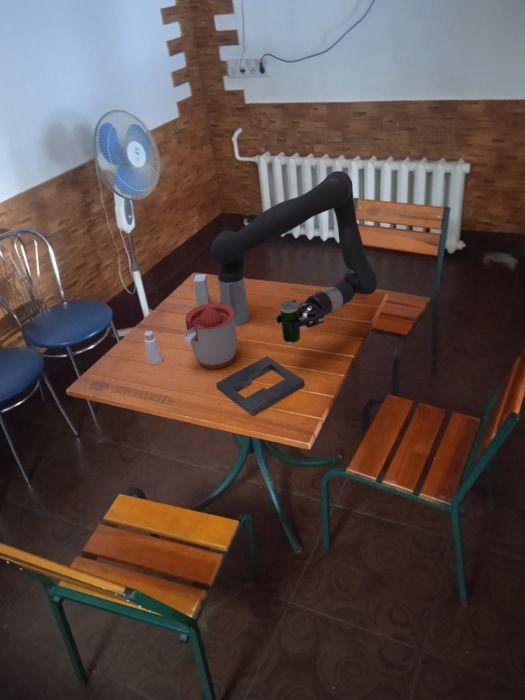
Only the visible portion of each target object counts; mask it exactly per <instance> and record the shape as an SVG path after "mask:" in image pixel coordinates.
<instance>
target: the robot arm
mask: <svg viewBox="0 0 525 700" xmlns="http://www.w3.org/2000/svg"><path fill="white" fill-rule="evenodd" d="M353 187H354V186H353V181H352V179H351V177H350V176H349V175H348V173H346V172H344V171H341V170H336V171H333V172H332V171H331V173H329V174H328V175H327V176H326V177H325V178H324V179H323V180H322V181H321V182H320V183H319V184H317V185H316V186H314V187H313V188H312V189H310V190H309V191H306V192H305V193H304V194H302V195H299V196H296V197H293V198H289V199H287V200H283V201H281V202H279V203H277V204H275V205H273V206H271V207H269V208H267V209H266V210H264V211H263V212H261V213H260V214H258V215H257V216H256V217H254V219H252V220H251V221H250V222H249V223H248V224H246V225H245V226H244V227H242V228H241V229H240V230H238V231H237V232H236V231H234V230H230V229H227V230H223V231H221V232H220V233H219V234H218V235H217V236H216V238H215V239H214V241H213V242H212V243H211V247H210V256H211V258H212V259H213V261H214V262H216V263H217V264H218V268H217V275H216V276H217V281H218V286H219V287H218V288H219V292H220V293H219V294H220V295H219V301H220V304H225V305H228V306H230V307H231V308H232V309H233V310H234V313H235V314H234V319H235V326H241V325H244V324H246V323H248V321H249V320H250V312H249V304H248V295H247V294H248V293H247V287H246V279H245V254H247V253H248V252H249V251H251V250H253V249H255V248H257V247H259V246H261V245H264V244H267V243H268V242H270V241H272V240H274V239H276V238H278V237H281V236H283V235H285V234H287V233H288V232H290V231H293V230H294V229H295V228H297V227H299V226H301V225H302V224H304V223H306V222H307V221H308V220H310V219H311V218H313V217H315V216H317V215H321V214H323V213H324V212H328V211H330V210H333V211H334V215H335V219H336V224H337V225H336V226H337V232H338V233H337V234H338V241H339V246H340V252H341V255H342V259H343V263H344V265H345V267H346V268H347V269H349V270H351V271H352V272H351V273H349V274H347V275H346V276H344V277H343V278H342V279H341V280H340V281H339V282H338V283H335V284H333V285H331V286H329V287H327V288H323V289H322V290H319V291H318V292H315V293H314V294H312V295H310V296H309V297H308V298H307V299H306V300H305V301H304V302H300V303H297V300H296V299H293V300H292V301H294V302H296V303H297V305H298V308H299V317H301V318H299V319H297V320H296V321H294V322H292V323H290V324H289V327H290V330H294V329H297V328H299V327H300V328H301V327H306V328H307V329H310V328H313V327H315V326H318V325H321V324H323V323H325V317H326V316H328V315H329V314H331V313H333V311H334V312H335V311H336V310H338V309H339V308H341V307H343V306H344V305H346V304H348V303H350V302H351V301H352V300H353V299H354V298H355V295H356V294H357V295H365V296H368V295H372V294H374V293H375V292H376V290H377V288H378V277H377V274H376V273H375V271H374V269H373V268H372V267H373V266H372V265H371V263H370V262H369V260H368V258H367V255H366V251H365V248H364V243H363V239H362V236H361V233H360V228H359V224H358V220H357V219H358V218H357V216H356V215H357V214H356V209H355V203H354V192H353V191H354V190H353V189H354V188H353ZM275 320H276V323H278V324H280V323H281V324H282V322H281V313H280V314H278V315H277V316H276V317H275Z"/></svg>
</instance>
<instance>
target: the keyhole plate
mask: <svg viewBox="0 0 525 700" xmlns="http://www.w3.org/2000/svg"><path fill="white" fill-rule="evenodd" d="M269 371H273V372H274V373H276V374H277V375H279V376H280V377H282V378H283V380H281V381H279V382H277V383H276V384H273V385H272V386H270V387H268V388H265V387H262V388H260V389H259V390H256V391H255V392H253V393H252V394H250V395H247V396H246V397H244V396H243V395H242V394H240V393H239V391H241V390H242V389H244V388H247V387H248V386H250V385H251V384H252V381H253V380H255V379H257V378H259V377H261V376H262V375H264V374H266V373H267V372H269ZM215 385H216V389H217V390H219V391H220V392H221V393H222V394H224V395H225V396H226V397H228V398H229V399H230V401H233V402H234V403H235V404H237V405H238V406H239V407H240V408H242V410H245V412H247V413H248V414H249V415H250V416H252V417H254V416H255V415H257V414H259V413H260V412H262V411H263V410H265V409H268V408H269V407H271V406H272V405H274V404H275V403H277V402H278V401H280V400H282V399H284V398H286V397H287V396H288V395H291V394H292V393H294V392H296V391H297V390H299V389H301V388H302V387H304V386H305V379H304V378H302V377H301V376H299V375H297V374H296V373H294V372H292V371H291V370H289V369H288V368H286V367H285V366H283V365H282V364H280V362H279V363H278V362H277V361H276V360H274V359H272V358H271V357H270V356H265V357H263V358H261V359H259V360H257V361H255V362H253V363H251V364H248V366H246V367H244V368H242V369H240V370H237V372H234V373H233V374H231V375H229V376H226V377H225V378H223V379H221V380H220V381H217V382H215Z"/></svg>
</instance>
